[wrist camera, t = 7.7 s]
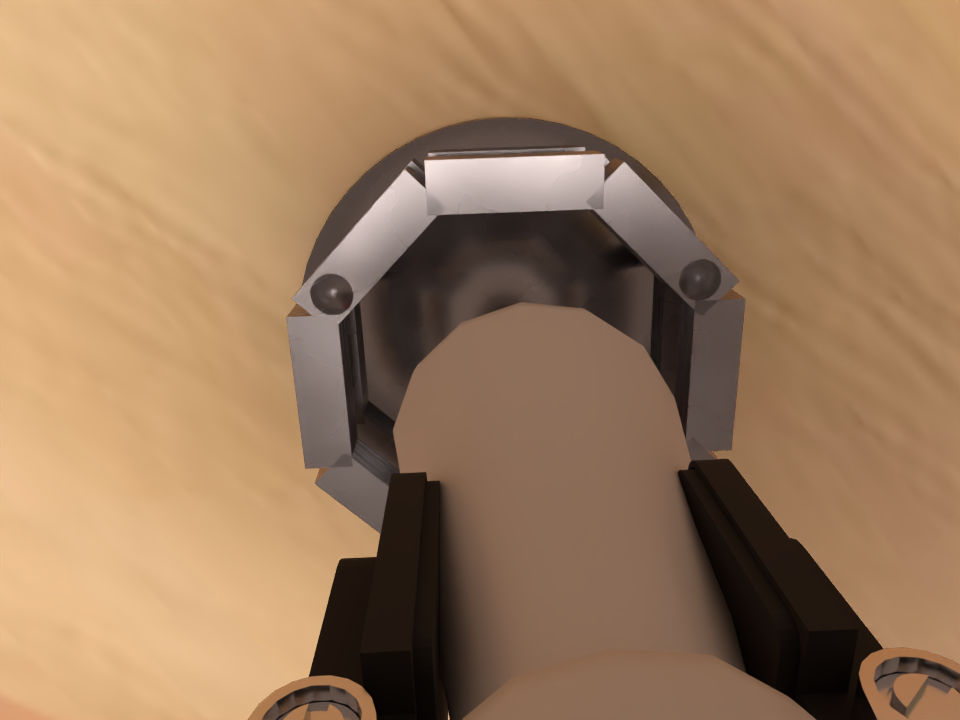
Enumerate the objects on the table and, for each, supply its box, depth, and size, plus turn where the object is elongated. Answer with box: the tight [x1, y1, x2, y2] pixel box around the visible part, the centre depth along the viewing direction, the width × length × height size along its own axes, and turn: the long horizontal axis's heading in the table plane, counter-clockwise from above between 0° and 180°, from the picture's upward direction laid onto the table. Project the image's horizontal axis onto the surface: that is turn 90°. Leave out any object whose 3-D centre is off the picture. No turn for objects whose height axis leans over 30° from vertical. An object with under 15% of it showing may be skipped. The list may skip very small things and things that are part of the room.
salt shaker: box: [393, 302, 816, 720], centre depth 11 cm, size 6×6×13 cm
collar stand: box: [286, 117, 745, 534], centre depth 20 cm, size 12×12×5 cm
